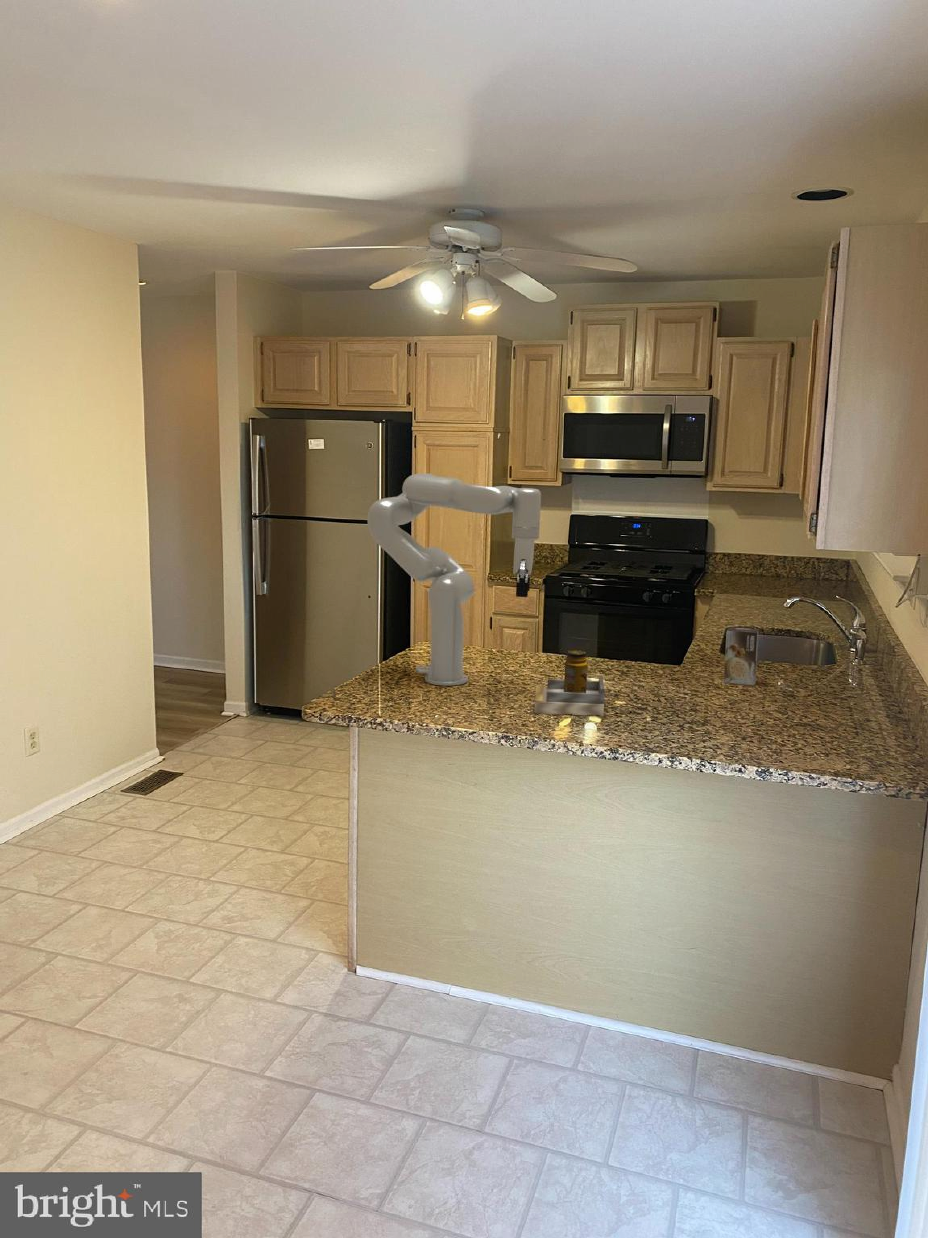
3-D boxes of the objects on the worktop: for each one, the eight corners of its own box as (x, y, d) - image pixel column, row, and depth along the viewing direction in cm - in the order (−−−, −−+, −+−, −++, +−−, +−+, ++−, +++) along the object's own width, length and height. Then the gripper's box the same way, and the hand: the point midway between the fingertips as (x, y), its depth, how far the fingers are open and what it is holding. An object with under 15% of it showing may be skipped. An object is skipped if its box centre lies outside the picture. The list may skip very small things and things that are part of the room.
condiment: (592, 697, 249) (594, 653, 247) (567, 701, 245) (569, 656, 242) (576, 690, 255) (577, 647, 253) (551, 694, 251) (552, 651, 249)
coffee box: (756, 681, 280) (760, 628, 277) (754, 686, 274) (758, 632, 271) (725, 677, 283) (728, 626, 280) (722, 682, 277) (726, 630, 274)
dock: (534, 713, 244) (535, 687, 242) (536, 696, 259) (537, 672, 258) (603, 716, 242) (604, 690, 241) (601, 699, 258) (602, 675, 256)
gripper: (514, 529, 266) (511, 588, 270) (509, 535, 250) (507, 598, 253) (540, 530, 266) (537, 589, 269) (537, 537, 249) (534, 600, 252)
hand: (522, 593), depth 261 cm, fingers open, 9 cm apart
